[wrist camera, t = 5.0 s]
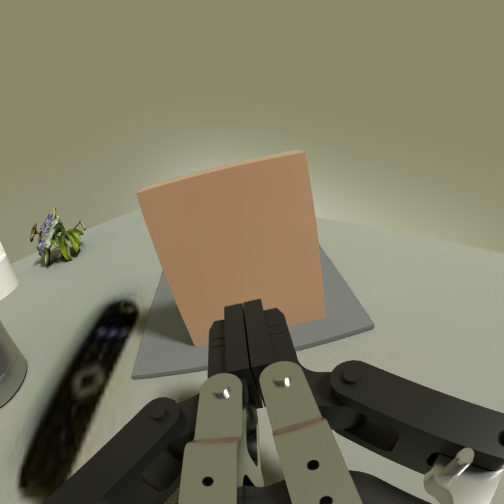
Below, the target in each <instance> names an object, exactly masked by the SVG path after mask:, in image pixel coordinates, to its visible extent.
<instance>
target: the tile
mask: <svg viewBox="0 0 504 504" xmlns="http://www.w3.org/2000/svg"><path fill="white" fill-rule="evenodd" d="M136 194H137V198H138V201H139V204H140V207H141V210H142V213H143V216H144V219H145V222H146V225H147V228H148V231H149V233H150V236H151V239H152V242H153V245H154V247H155V250H156V253H157V255H158V258H159V261H160V263H161V266H162V269H163V271H164V274H165V276H166V279H167V282H168V284H169V287H170V289H171V292H172V294H173V296H174V299H175V301H176V304H177V306H178V308H179V311H180V313H181V316H182V318H183V320H184V323H185V325H186V327H187V329H188V332H189V334H190V336H191V338H192V341H193V343H194V345H195V347H197V346H203V345H208V343H209V330H210V328H211V326H212V324H213V322H214V321H218V320H223V319H224V307H225V306H229V305H234V304H238V303H242V304H243V302H247V301H251V300H256V299H260V298H261V301H262V305H263V310H268V309H272V308H278V309H279V310H280V311H281V312H282V313H283V314H284V316H285V319H286V322H287V326H288V327H291V326H295V325H299V324H303V323H307V322H311V321H314V320H318V319H322V318H325V317H326V311H325V300H324V289H323V279H322V269H321V260H320V251H319V243H318V235H317V227H316V219H315V212H314V205H313V198H312V191H311V185H310V179H309V172H308V166H307V160H306V154H305V152H303V151H301V150H299V149H297V150H292V151H287V152H282V153H276V154H271V155H266V156H261V157H257V158H253V159H247V160H243V161H239V162H234V163H230V164H226V165H221V166H217V167H213V168H209V169H205V170H201V171H198V172H194V173H190V174H187V175H183V176H179V177H175V178H172V179H169V180H165V181H162V182H158V183H155V184H152V185H149V186H145V187H142V188H141V189H140V190H139V191H138V192H137V193H136ZM243 307H244V306H243Z"/></svg>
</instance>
